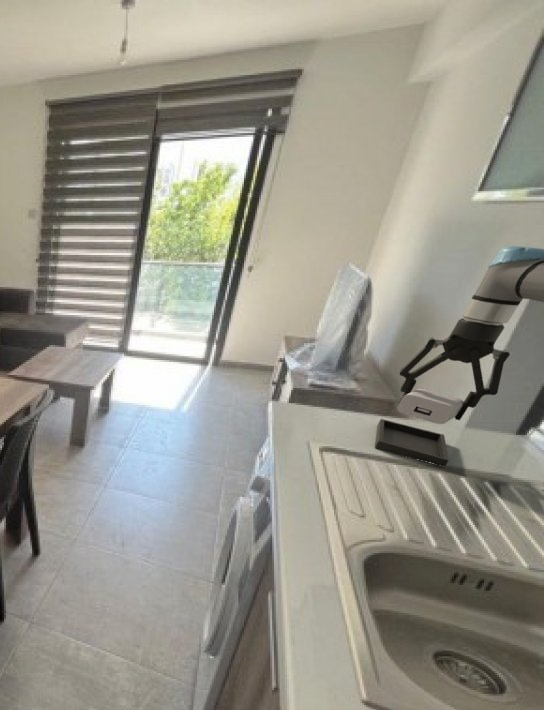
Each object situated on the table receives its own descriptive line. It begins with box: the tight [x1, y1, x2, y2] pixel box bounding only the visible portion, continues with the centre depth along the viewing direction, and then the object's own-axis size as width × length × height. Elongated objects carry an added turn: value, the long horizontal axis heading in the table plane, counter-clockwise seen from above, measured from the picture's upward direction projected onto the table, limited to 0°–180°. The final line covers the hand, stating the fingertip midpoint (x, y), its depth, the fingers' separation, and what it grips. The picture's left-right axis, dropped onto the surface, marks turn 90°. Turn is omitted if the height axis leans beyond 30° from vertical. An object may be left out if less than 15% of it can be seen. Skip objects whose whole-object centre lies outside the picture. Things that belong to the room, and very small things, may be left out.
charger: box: [396, 388, 465, 425], centre depth 117 cm, size 5×9×15 cm
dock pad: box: [374, 418, 450, 468], centre depth 122 cm, size 13×19×2 cm
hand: (428, 411), depth 118 cm, fingers closed on charger, 10 cm apart
